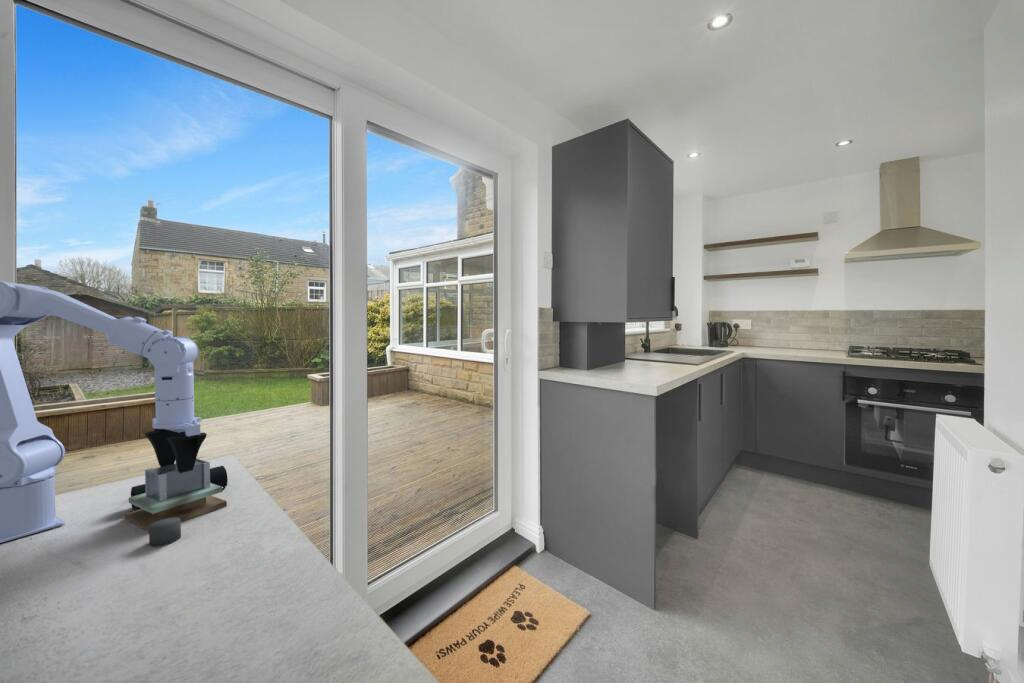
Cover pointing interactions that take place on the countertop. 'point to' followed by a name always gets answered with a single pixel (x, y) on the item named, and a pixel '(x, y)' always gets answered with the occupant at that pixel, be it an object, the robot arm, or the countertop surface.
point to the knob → (164, 532)
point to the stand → (174, 506)
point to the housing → (176, 480)
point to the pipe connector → (216, 477)
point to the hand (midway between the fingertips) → (176, 468)
